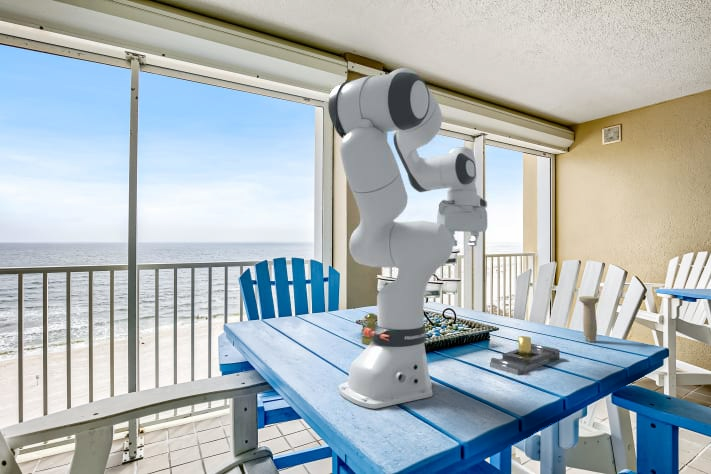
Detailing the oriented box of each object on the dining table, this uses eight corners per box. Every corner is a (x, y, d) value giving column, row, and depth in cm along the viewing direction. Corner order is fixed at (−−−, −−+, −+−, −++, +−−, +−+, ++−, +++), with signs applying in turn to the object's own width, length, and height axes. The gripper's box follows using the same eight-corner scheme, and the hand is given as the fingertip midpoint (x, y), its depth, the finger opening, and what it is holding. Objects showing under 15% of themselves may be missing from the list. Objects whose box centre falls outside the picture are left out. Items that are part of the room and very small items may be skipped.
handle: (577, 340, 124) (575, 297, 125) (589, 338, 127) (587, 295, 127) (591, 344, 120) (590, 298, 120) (603, 341, 123) (601, 297, 123)
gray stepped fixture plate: (519, 375, 92) (519, 367, 92) (488, 366, 99) (488, 358, 99) (551, 363, 101) (550, 355, 101) (520, 355, 108) (520, 348, 108)
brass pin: (527, 365, 100) (526, 339, 100) (516, 362, 102) (516, 337, 102) (533, 362, 101) (533, 337, 102) (522, 360, 104) (522, 335, 104)
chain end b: (532, 370, 95) (531, 358, 95) (501, 362, 102) (500, 350, 103) (561, 359, 104) (561, 347, 104) (531, 352, 112) (530, 341, 112)
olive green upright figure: (385, 341, 128) (385, 312, 128) (375, 346, 122) (375, 316, 122) (367, 338, 132) (367, 311, 132) (357, 343, 126) (356, 314, 126)
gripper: (447, 197, 103) (449, 246, 103) (490, 202, 115) (491, 245, 114) (431, 200, 108) (432, 246, 108) (473, 204, 120) (475, 246, 119)
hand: (463, 246), depth 111 cm, fingers open, 8 cm apart
